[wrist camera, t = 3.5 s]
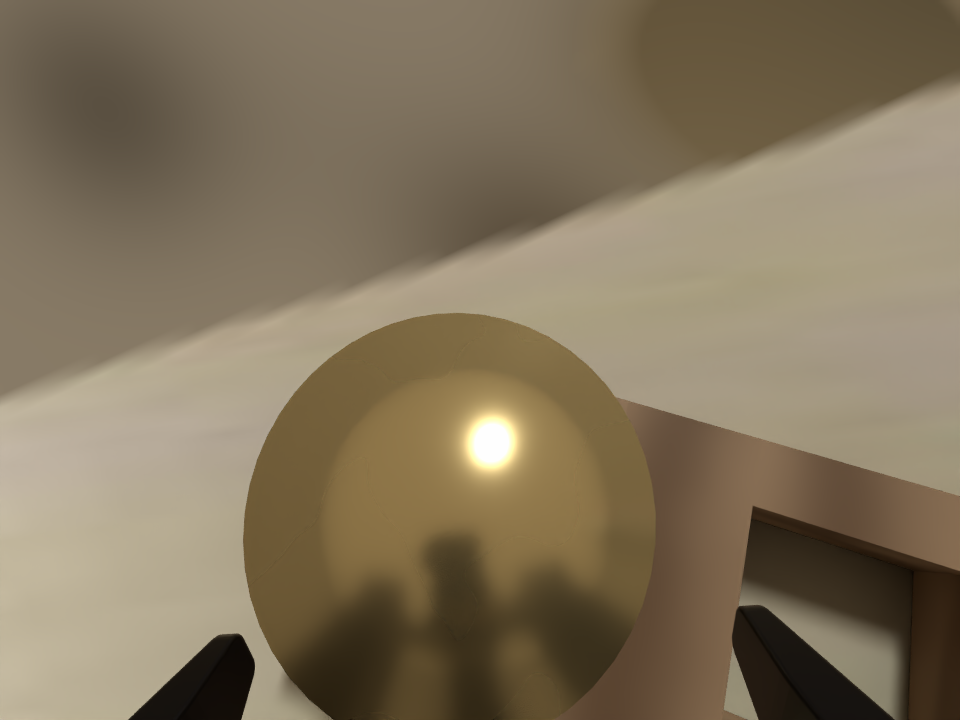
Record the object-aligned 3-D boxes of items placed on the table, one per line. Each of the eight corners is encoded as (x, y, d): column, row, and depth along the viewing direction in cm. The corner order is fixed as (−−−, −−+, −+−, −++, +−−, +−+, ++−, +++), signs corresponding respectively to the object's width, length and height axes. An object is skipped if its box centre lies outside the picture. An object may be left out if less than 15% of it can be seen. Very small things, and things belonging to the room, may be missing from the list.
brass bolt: (522, 623, 17) (502, 885, 4) (415, 541, 18) (161, 557, 6) (590, 504, 18) (730, 437, 5) (485, 436, 19) (404, 257, 7)
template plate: (988, 527, 16) (1064, 526, 14) (994, 917, 13) (1095, 999, 11) (424, 360, 21) (411, 338, 19) (321, 618, 18) (289, 631, 15)
